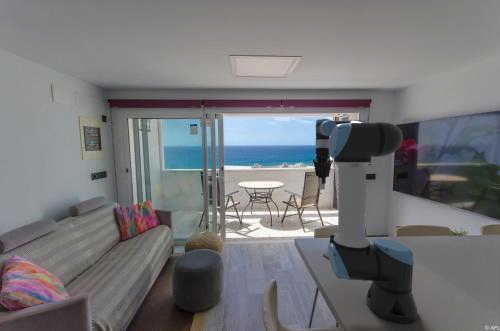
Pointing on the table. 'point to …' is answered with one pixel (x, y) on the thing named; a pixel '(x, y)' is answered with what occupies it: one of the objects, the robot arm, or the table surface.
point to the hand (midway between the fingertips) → (322, 189)
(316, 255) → the table surface
